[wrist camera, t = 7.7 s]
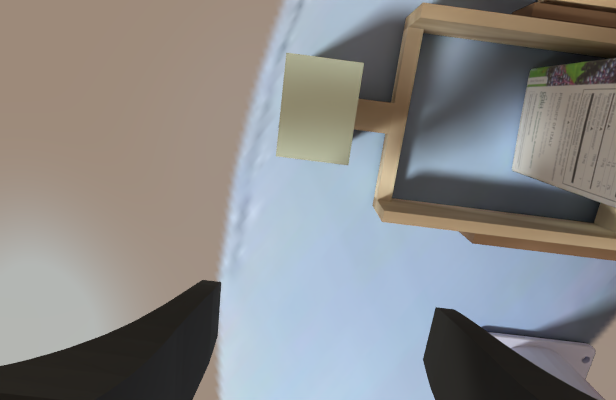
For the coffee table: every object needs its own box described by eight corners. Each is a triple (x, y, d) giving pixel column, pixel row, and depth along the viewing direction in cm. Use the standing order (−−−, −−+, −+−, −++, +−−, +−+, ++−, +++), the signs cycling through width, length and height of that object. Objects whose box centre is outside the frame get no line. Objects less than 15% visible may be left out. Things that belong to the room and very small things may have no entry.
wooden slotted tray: (603, 234, 22) (704, 279, 16) (280, 194, 21) (268, 226, 16) (668, 53, 19) (815, 33, 13) (300, 3, 19) (295, -39, 13)
